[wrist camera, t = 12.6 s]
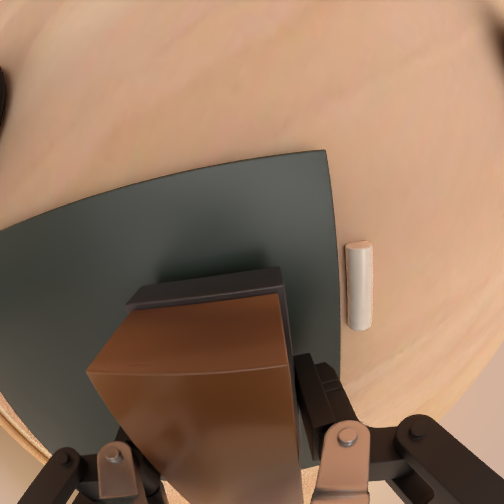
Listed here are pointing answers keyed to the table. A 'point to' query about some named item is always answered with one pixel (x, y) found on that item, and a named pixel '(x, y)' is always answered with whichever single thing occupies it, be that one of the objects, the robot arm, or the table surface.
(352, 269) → the chalk
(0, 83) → the beverage can
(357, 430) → the robot arm
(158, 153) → the table surface
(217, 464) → the eraser
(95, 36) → the table surface
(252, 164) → the slate board
